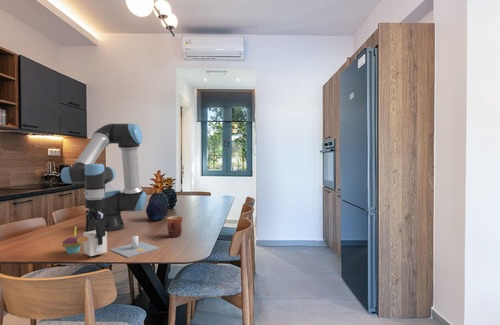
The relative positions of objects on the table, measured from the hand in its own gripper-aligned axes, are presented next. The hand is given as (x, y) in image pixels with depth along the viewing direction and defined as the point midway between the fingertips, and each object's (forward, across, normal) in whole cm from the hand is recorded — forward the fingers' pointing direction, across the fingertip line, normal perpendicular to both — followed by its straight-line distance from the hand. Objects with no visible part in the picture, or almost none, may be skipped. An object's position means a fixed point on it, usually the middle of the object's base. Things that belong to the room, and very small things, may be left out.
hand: (95, 249), depth 126 cm
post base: (+3, +5, +16) cm, 17 cm away
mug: (+3, +1, +41) cm, 41 cm away
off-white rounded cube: (+1, 0, -2) cm, 2 cm away
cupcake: (+3, -13, -4) cm, 14 cm away
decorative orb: (+4, -44, +60) cm, 74 cm away
